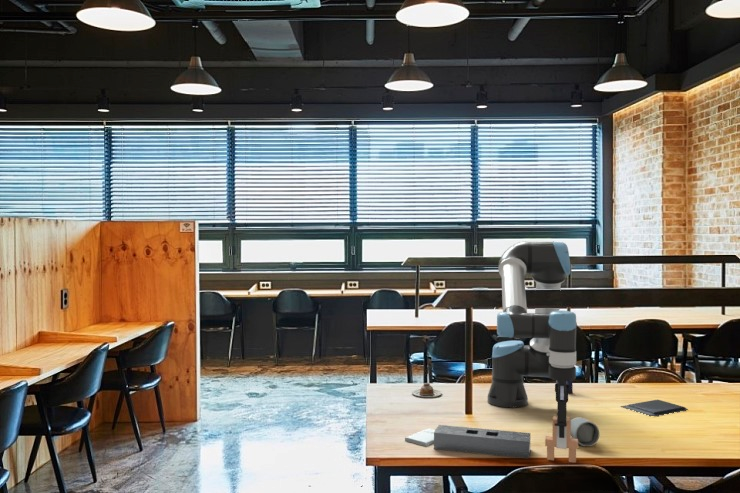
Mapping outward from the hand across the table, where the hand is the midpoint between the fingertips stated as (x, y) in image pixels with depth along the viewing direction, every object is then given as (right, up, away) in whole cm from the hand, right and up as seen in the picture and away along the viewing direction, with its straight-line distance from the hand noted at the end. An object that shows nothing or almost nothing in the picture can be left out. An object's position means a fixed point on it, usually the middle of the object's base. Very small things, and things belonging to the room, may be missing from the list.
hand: (561, 445), depth 183 cm
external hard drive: (-37, -4, +19) cm, 42 cm away
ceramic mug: (+10, -4, +15) cm, 18 cm away
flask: (+25, -2, +77) cm, 81 cm away
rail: (-21, -4, +9) cm, 23 cm away
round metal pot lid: (-32, -3, +72) cm, 79 cm away
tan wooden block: (0, -4, 0) cm, 4 cm away
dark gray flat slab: (+51, -3, +53) cm, 73 cm away
